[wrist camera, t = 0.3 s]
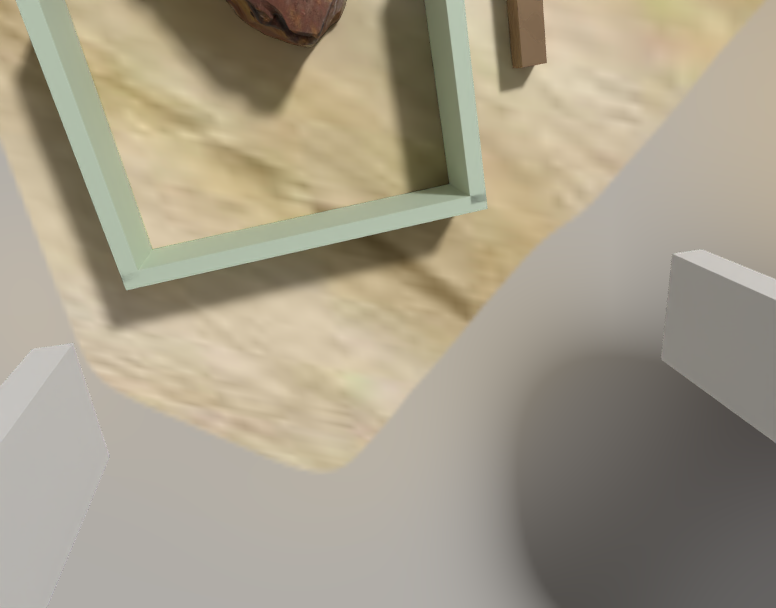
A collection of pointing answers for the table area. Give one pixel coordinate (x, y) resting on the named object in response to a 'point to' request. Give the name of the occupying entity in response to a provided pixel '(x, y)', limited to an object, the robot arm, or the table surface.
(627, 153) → the table surface
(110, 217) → the mint green u-channel
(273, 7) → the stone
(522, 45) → the trowel
